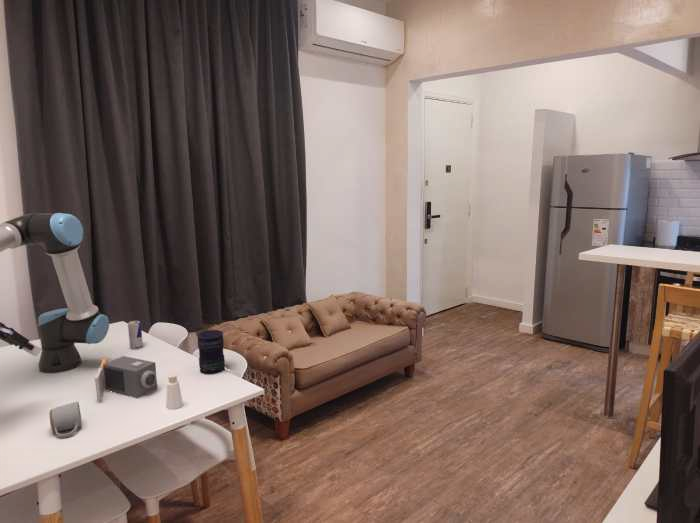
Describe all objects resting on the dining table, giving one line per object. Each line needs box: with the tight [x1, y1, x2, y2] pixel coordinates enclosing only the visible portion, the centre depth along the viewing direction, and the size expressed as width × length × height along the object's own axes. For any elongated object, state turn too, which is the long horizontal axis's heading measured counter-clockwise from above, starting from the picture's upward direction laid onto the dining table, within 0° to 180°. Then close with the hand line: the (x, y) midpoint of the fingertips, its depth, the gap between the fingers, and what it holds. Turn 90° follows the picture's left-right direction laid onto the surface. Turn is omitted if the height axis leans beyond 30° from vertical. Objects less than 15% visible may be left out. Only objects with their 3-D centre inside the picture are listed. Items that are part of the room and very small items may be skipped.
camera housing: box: [103, 355, 158, 399], centre depth 182 cm, size 18×9×11 cm, turn 65°
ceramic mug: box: [48, 401, 83, 439], centre depth 154 cm, size 11×8×8 cm
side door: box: [94, 357, 108, 401], centre depth 181 cm, size 21×1×8 cm, turn 18°
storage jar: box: [197, 329, 226, 375], centre depth 199 cm, size 10×10×15 cm
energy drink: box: [127, 320, 144, 350], centre depth 225 cm, size 5×5×12 cm
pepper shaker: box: [165, 373, 184, 410], centre depth 169 cm, size 5×5×11 cm
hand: (37, 352), depth 167 cm, fingers closed
